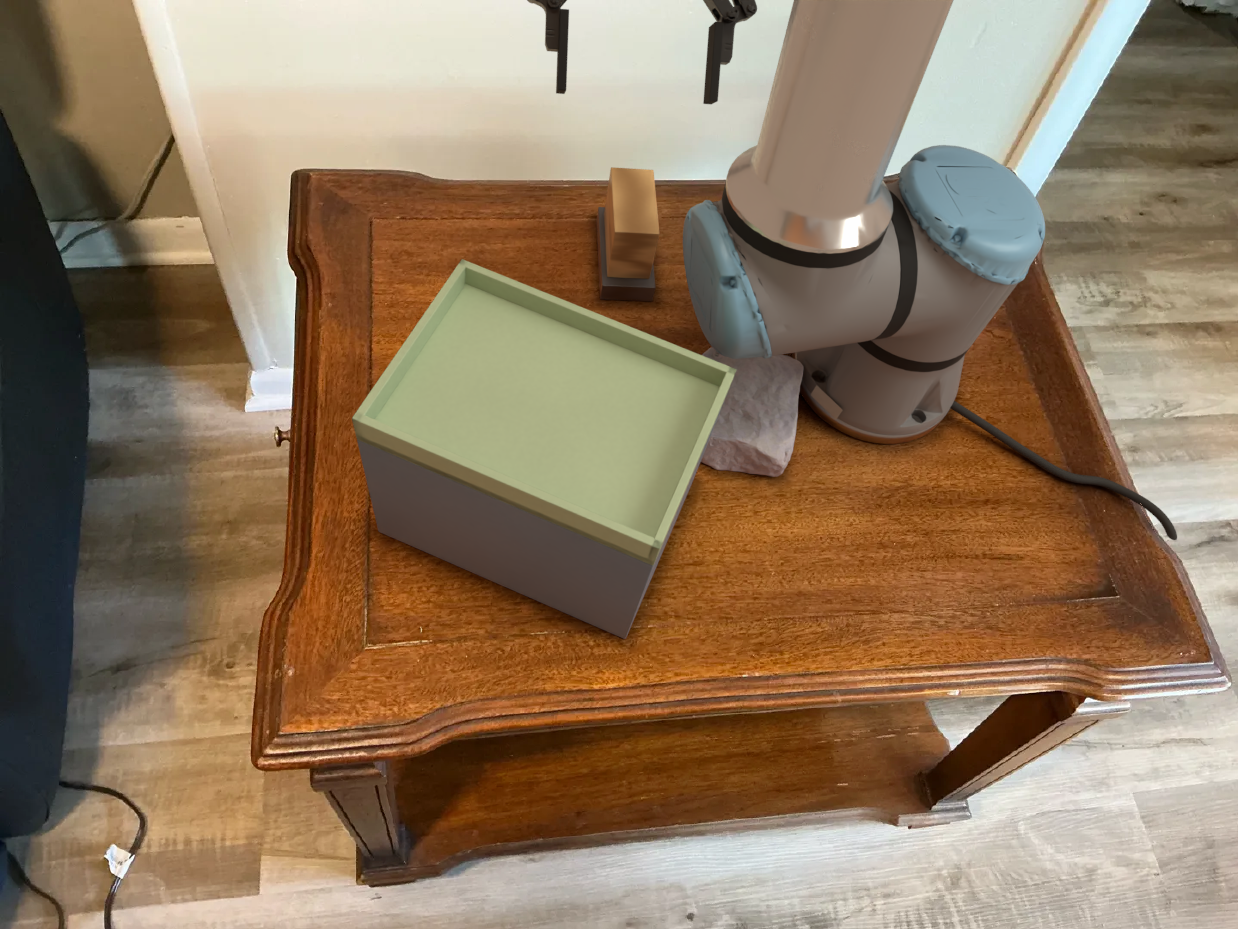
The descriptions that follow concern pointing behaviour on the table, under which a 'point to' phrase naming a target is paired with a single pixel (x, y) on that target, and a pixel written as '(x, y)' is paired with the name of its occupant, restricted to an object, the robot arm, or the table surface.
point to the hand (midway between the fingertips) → (636, 97)
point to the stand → (508, 542)
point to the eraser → (628, 236)
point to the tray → (548, 409)
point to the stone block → (756, 415)
